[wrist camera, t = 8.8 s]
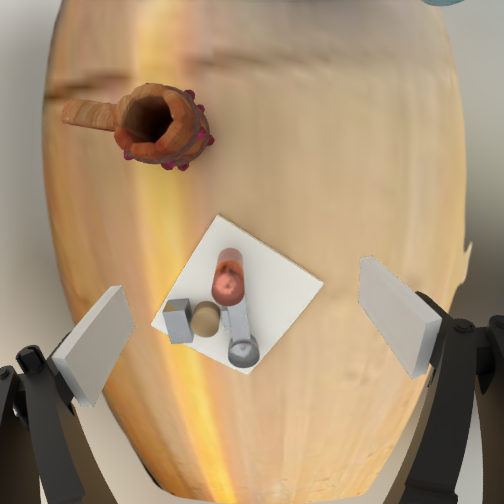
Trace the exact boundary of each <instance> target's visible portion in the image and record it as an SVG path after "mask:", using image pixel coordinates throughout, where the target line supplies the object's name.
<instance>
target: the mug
mask: <svg viewBox="0 0 504 504" xmlns="http://www.w3.org/2000/svg"><path fill="white" fill-rule="evenodd" d="M194 99H195V93H194V92H193V91H192V90H185V91H184V92H183V91H181V90H179V89H177V88H175V87H171V86H165V85H162V84H154V83H146V84H145V85H142V86H139V87H137V88H135V89H134V91H133V93H132V94H131V95H128V96H124V97H123V98H121V100H120V101H119V102H118V104H117V105H116V104H110V103H101V102H95V101H90V100H82V99H68V100H67V101H66V104H65V107H64V109H63V113H62V118H61V121H62V123H67V124H70V125H76V126H82V127H87V128H93V129H99V130H105V131H111V132H115V133H114V138H115V140H116V142H117V144H118V145H119V146H120V148H121V149H123V150H124V158H125V160H132V159H135V160H137V161H140V162H143V163H148V164H161V166H162V167H163V168H164V169H166V170H172V169H173V167H174V166H178V169H179V170H181V171H185V170H187V168H188V167H189V162H190V161H192V160H194V159H195V158H197V157H198V156H199V155H200V154H201V153H202V152H203V150H204V149H205V147H206V146H210V145H212V144H213V143H214V138H213V137H212V136H211V135H210V134H209V125H208V122H207V119H206V117H205V115H204V114H203V113H204V110H205V109H204V106H203V105H200V104H198V105H195V103H194V101H193V100H194Z"/></svg>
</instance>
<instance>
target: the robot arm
mask: <svg viewBox="0 0 504 504" xmlns="http://www.w3.org/2000/svg"><path fill="white" fill-rule="evenodd" d="M421 1H423V2H424V3H426V4H429V5H433V6H449V5H453V4H456V3H459V2H461V1H464V0H421ZM358 303H359V304H360V306H361V307H362V308H363V310H364V311H365V312H366V314H367V315H368V317H369V318H370V319H371V321H372V322H373V324H374V325H375V326H376V328H377V329H378V331H379V332H380V334H381V335H382V336H383V338H384V339H385V341H386V342H387V344H388V345H389V347H390V348H391V349H392V351H393V352H394V354H395V355H396V357H397V358H398V360H399V361H400V363H401V364H402V366H403V367H404V369H405V370H406V372H407V373H408V375H409V376H410V378H411V379H412V378H415V377H418V376H421V375H423V374H426V372H427V369H428V366H429V363H430V364H431V365H432V366H433V367H434V370H433V373H432V376H431V379H430V381H429V384H428V386H427V387H429V389H428V392H427V396H426V399H425V403H424V406H423V409H422V412H421V415H420V419H419V422H418V425H417V427H416V430H415V433H414V436H413V439H412V441H411V444H410V446H409V449H408V452H407V454H406V457H405V459H404V461H403V463H402V466H401V468H400V470H399V472H398V475H397V477H396V479H395V481H394V483H393V485H392V487H391V489H390V491H389V493H388V495H387V497H386V499H385V501H384V503H383V504H457V502H458V496H457V495H456V494H455V491H454V490H455V486H456V483H457V479H458V476H459V472H460V469H461V465H462V461H463V457H464V453H465V448H466V443H467V439H468V433H469V428H470V422H471V415H472V408H473V400H474V390H475V394H476V400H477V406H478V413H479V419H480V429H481V438H482V453H483V502H482V504H504V316H502V315H501V316H500V315H496V316H492V317H491V318H490V320H489V323H488V326H487V327H480V328H476V327H475V325H474V324H473V323H471V322H470V321H468V320H465V319H453V318H452V317H450V316H449V315H448V314H447V313H446V312H445V311H444V310H443V309H442V308H441V307H440V306H438V305H437V304H436V303H435V302H433V300H432V299H431V298H430V297H428V296H427V295H425V294H423V293H421V292H419V291H417V292H413V291H412V290H411V289H410V288H409V287H408V286H407V285H406V284H405V283H403V282H402V281H401V280H400V279H399V278H398V277H397V276H395V275H394V274H393V273H392V272H391V271H390V270H389V269H387V268H386V267H385V266H384V265H383V264H382V263H380V262H379V261H378V260H377V259H376V258H374V257H373V256H370V257H362V258H360V280H359V299H358ZM134 328H135V324H134V321H133V318H132V315H131V312H130V309H129V306H128V303H127V300H126V297H125V294H124V290H123V287H122V285H119V286H110V288H109V289H108V290H107V291H106V292H105V293H104V294H103V295H102V297H101V298H100V299H99V300H98V301H97V302H96V303H95V304H94V306H93V307H92V308H91V309H90V310H89V311H88V313H87V314H86V315H85V316H84V317H83V318H82V320H81V321H80V322H79V323H78V324H77V326H76V327H75V328H74V329H73V330H72V331H71V332H69V333H68V334H67V335H66V336H65V337H64V338H63V340H62V342H60V343H59V345H58V347H56V348H55V350H54V351H53V352H52V353H51V355H50V356H49V357H48V358H47V360H45V358H44V356H43V354H42V352H41V350H40V348H39V347H38V346H37V345H30V346H27V347H25V348H23V349H22V350H21V351H19V353H18V354H17V355H16V360H17V362H18V363H19V365H20V367H21V369H22V370H23V372H24V373H23V374H17V373H16V371H15V369H14V368H13V366H4V367H1V368H0V504H41V498H40V481H39V475H40V479H41V483H42V486H43V489H44V493H45V496H46V499H47V502H48V504H118V503H117V501H116V499H115V498H114V496H113V494H112V492H111V491H110V489H109V487H108V485H107V483H106V481H105V479H104V477H103V475H102V473H101V471H100V469H99V467H98V465H97V463H96V461H95V459H94V456H93V454H92V452H91V449H90V447H89V444H88V442H87V440H86V437H85V435H84V432H83V429H82V427H81V424H80V421H79V418H78V416H77V413H76V410H75V407H74V406H73V404H72V403H71V401H72V399H73V397H75V398H76V400H77V401H78V403H79V404H80V405H81V406H87V407H94V405H95V403H96V401H97V399H98V397H99V395H100V393H101V391H102V389H103V387H104V385H105V383H106V381H107V379H108V377H109V375H110V373H111V371H112V369H113V367H114V365H115V364H116V362H117V360H118V358H119V356H120V354H121V352H122V350H123V348H124V347H125V345H126V343H127V341H128V339H129V337H130V336H131V334H132V332H133V330H134ZM13 408H14V409H15V411H16V412H17V414H16V415H15V414H14V411H13Z"/></svg>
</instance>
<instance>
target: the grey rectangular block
mask: <svg viewBox="0 0 504 504" xmlns="http://www.w3.org/2000/svg"><path fill="white" fill-rule="evenodd" d="M162 314H163V317H164V321H165V324H166V328H167V331H168V335H169V338H170V341H171V344H180V343H193V338H194V334H195V333H194V332H193V330H192V328H191V321H192V318H193V315H192V311H191V306H190V302H189V298H185V299H174V300H168V301H167V303H166V305H165V307H164V309H163V311H162Z"/></svg>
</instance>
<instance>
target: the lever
mask: <svg viewBox="0 0 504 504" xmlns="http://www.w3.org/2000/svg"><path fill="white" fill-rule="evenodd" d="M211 294H212V297H213V299H214V300H215V301H216V302H217V303H218V304H220V305H222V309H221V313H222V319H223V324H224V330H225V331H228V330H231V333H232V339H233V340H232V341H231V342H230V343H229V346H228V360H229V362H230V363H231V364H232V365H234V366H235V367H238V368H249V367H252V366H254V365H255V364H256V363H257V362H258V361H259V358H260V353H259V345H258V343H257V341H256V340H255V339H253V338H251V337H250V330H249V322H248V314H247V306H246V298H245V287H244V269H243V256H242V254H241V253H240V252H239V251H238V250H237V249H234V248H226V249H224V250H222V251H221V252H220V254H219V256H218V260H217V264H216V269H215V274H214V279H213V284H212V289H211Z"/></svg>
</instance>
